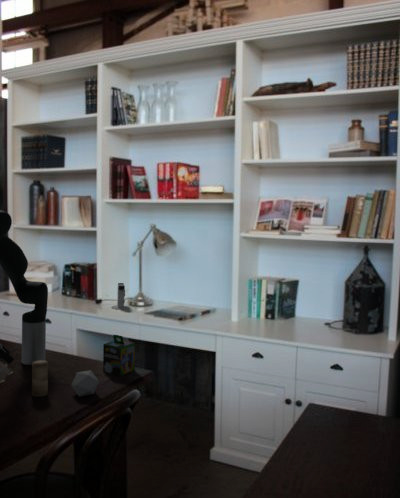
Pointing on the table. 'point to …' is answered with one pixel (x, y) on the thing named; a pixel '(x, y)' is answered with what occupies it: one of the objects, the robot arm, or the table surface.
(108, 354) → the chalk box
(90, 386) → the die
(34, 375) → the oak cylinder
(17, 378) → the table surface
